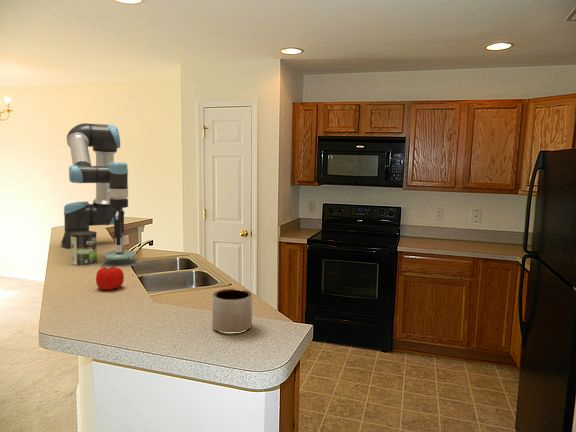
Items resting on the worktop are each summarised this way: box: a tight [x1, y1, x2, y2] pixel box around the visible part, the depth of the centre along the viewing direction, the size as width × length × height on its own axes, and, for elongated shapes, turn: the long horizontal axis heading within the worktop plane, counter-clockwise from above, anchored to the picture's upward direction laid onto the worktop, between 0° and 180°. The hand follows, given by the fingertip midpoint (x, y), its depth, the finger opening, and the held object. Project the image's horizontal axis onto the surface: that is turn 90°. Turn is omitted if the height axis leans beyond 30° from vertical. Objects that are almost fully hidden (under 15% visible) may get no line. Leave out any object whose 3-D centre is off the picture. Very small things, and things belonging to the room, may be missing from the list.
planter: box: [211, 288, 253, 332], centre depth 115 cm, size 11×11×10 cm
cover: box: [103, 232, 136, 260], centre depth 184 cm, size 13×13×10 cm
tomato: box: [95, 266, 125, 291], centre depth 148 cm, size 9×9×8 cm
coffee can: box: [70, 230, 98, 267], centre depth 182 cm, size 10×10×14 cm
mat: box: [99, 258, 139, 268], centre depth 185 cm, size 14×14×1 cm
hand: (119, 250), depth 185 cm, fingers closed on cover, 3 cm apart
